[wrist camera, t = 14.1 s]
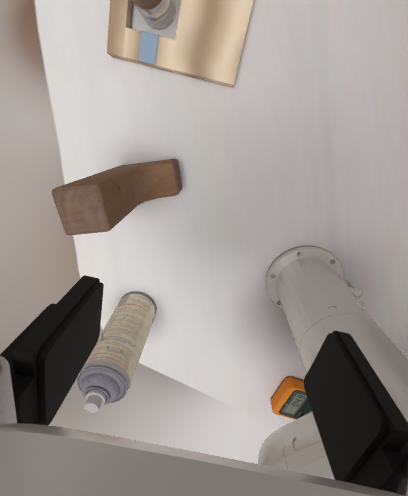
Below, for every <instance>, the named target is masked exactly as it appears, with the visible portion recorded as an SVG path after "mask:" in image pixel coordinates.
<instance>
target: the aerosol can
mask: <svg viewBox="0 0 408 496" xmlns="http://www.w3.org/2000/svg"><path fill="white" fill-rule="evenodd" d="M155 313H156V304H155V302H154V301H153V299H152V298H151V297H150V296H149V295H147V294H145V293H142V292H130V293H127V294H126V295H125V296H123V297H122V299H121V301H120V303H119V304H118V306H117V308H116V309H115V311H114V313H113V314H112V316H111V318H110V320H109V321H108V323H107V325H106V326H105V328H104V330H103V332H102V333H101V335H100V337H99V339H98V341H97V344H96V346H95V347H94V349H93V351H92V352H91V354H90V356H89V358H88V359H87V361H86V363H85V364H84V366H83V368H82V370H81V371H80V373H79V375H78V377H77V385H78V388H79V389H80V391H81V392H82V394H83V396H84V397H85V399H86V403H85V406H84V408H85V410H86V411H88V412H90V413H95V412H97V411H98V410H99V408H100V406H102V405H105V404H109V403H113V402H116V401H119V400H120V399H122V398H123V397H124V396H125V394H126V392H127V390H128V389H129V387H130V384H131V381H132V379H133V376H134V373H135V370H136V367H137V364H138V362H139V359H140V356H141V353H142V350H143V347H144V345H145V342H146V339H147V336H148V333H149V330H150V328H151V325H152V322H153V319H154V316H155Z"/></svg>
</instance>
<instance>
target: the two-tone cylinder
mask: <svg viewBox="0 0 408 496" xmlns="http://www.w3.org/2000/svg"><path fill="white" fill-rule="evenodd" d="M132 1H133V3H134V4H135V6H136V7H137V9H138V10H139V12H140V13H141V15H142V16H143V18H144V19H145V21H146V22H147V23H148V25H149V26H151V27H152V28H154V29H157V30H162V29H165V28H167V27H168V26H169V25H170V24H171V23H172V21H173V19H174V15H175V5H174V1H173V0H132Z"/></svg>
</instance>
